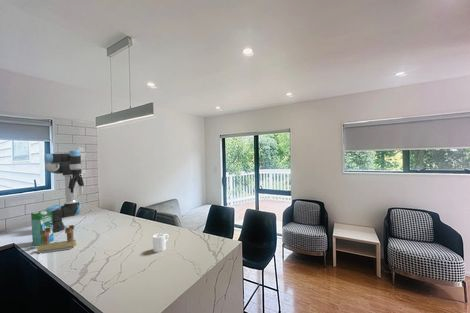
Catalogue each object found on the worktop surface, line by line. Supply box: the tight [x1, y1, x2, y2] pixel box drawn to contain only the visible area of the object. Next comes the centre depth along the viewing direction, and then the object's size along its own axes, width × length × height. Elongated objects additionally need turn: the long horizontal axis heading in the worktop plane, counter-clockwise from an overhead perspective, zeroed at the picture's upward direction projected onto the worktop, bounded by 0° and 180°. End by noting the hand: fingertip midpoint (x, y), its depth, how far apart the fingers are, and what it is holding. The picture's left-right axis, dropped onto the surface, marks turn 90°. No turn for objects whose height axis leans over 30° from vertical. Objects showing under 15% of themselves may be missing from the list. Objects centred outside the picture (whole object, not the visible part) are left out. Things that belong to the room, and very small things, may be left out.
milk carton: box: [30, 209, 55, 246], centre depth 170 cm, size 9×9×25 cm
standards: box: [40, 224, 75, 244], centre depth 164 cm, size 7×20×13 cm, turn 105°
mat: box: [36, 247, 74, 255], centre depth 155 cm, size 9×20×1 cm, turn 105°
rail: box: [36, 239, 77, 253], centre depth 156 cm, size 22×4×4 cm, turn 105°
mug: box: [152, 232, 170, 253], centre depth 148 cm, size 8×12×10 cm
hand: (77, 195), depth 173 cm, fingers open, 13 cm apart
